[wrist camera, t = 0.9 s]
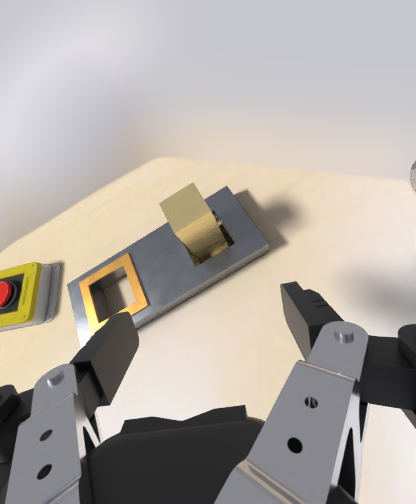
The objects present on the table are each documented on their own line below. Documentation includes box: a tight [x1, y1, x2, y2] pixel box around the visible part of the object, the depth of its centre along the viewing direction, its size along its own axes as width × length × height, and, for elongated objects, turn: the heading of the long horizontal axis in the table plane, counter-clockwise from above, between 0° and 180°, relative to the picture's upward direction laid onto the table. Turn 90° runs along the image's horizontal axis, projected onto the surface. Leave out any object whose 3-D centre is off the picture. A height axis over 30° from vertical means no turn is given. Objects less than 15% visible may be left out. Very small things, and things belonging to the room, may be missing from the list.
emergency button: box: [0, 262, 60, 332], centre depth 35 cm, size 9×4×15 cm
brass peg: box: [159, 183, 229, 263], centre depth 26 cm, size 4×4×10 cm
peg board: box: [67, 186, 269, 348], centre depth 30 cm, size 26×10×3 cm, turn 118°
